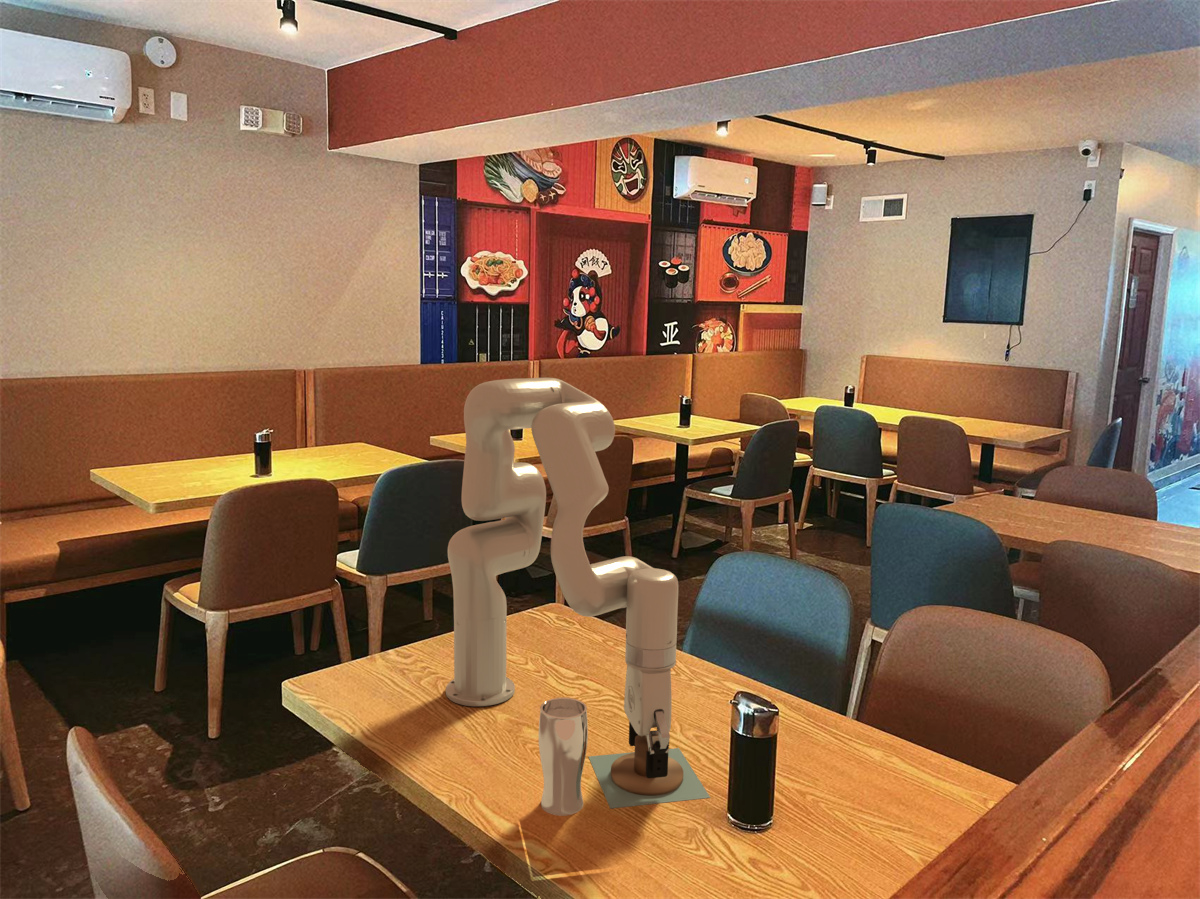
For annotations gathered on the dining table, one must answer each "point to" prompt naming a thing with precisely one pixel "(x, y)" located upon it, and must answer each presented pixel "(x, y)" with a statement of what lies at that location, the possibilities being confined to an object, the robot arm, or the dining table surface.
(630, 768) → the walnut lid
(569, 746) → the beer glass
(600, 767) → the rubber mat
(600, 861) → the dining table surface
